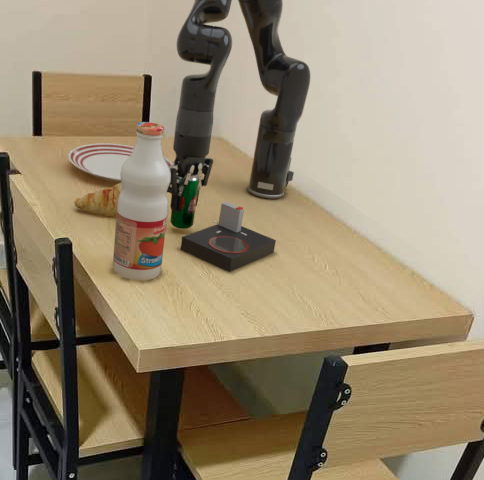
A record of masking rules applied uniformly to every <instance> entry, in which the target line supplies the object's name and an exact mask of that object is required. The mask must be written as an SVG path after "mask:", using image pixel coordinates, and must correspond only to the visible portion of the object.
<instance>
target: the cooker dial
mask: <svg viewBox="0 0 484 480" xmlns="http://www.w3.org/2000/svg"><path fill="white" fill-rule="evenodd" d="M244 213H245V208H244V207H243V206H238V205H235V204H233V203H230V202H228V201H223V202H221V205H220V212H219V217H218V218H219V219H218V223H217V224H218V225H220V226H222V227H224V228H227V229H229V230H232V231H234V232H239V231H241V226H243V221H244Z"/></svg>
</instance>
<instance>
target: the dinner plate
mask: <svg viewBox="0 0 484 480" xmlns="http://www.w3.org/2000/svg"><path fill="white" fill-rule="evenodd" d="M134 147H135V146H132V145H128V144H127V145H126V144H119V143H109V142H108V143H107V142H106V143H105V142H104V143H102V142H101V143H100V142H99V143H88V144H84V145H79V146H77V147H75V148H73V149H72V150H70V151H69V152H68V154H67V158H68V160H69V161H70V164H72V165H73V166H74V167H76V168H77V169H79V170H80V171H82V172H84V173H86V174H88V175H90V176H92V177H95V178H97V179H99V180H103V181H106V182H111V183H115V184H118V183H121V176H120V174H121V168H122V166H123V164H124V162H125V161H126V160H127V159H128V158H129V157H130V156H131V154H132V152H133V150H134ZM164 159H165V161H166V163H167V165H168V166H171V165H173V164H174V163H173V162H172V161H171V160H170V159H168V158H167V157H165V156H164Z"/></svg>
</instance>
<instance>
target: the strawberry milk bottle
mask: <svg viewBox="0 0 484 480" xmlns="http://www.w3.org/2000/svg"><path fill="white" fill-rule="evenodd" d="M135 134H136V142H135V145H134V146H133V147H134V150H133V152H132V154H131V156H130V157H129V158H128V159H127V160H126V161H125V162H124V164H123V166H122V168H121V174H120V176H121V183H122V190H121V192H120V194H119V197H118V204H117V216H116V217H115V229H114V230H115V232H114V233H115V234H114V244H113V257H112V268H113V272H114V273H116V275H117V276H119V277H121V278H123V279H127V280H131V281H137V282H139V281H141V282H142V281H144V282H145V281H150V280H153V279H155V278H157V277H158V276H159V275H160V273H161V270H162V266H163V265H162V264H163V258H164V257H163V256H164V249H165V239H166V231H167V223H168V222H167V221H168V213H169V198H168V195H167V193H168V192H167V189H168V187H169V184H170V181H171V172H170V168H169V166H168V165H167V163H166V161H165V159H164V157H165V156H164V151H163V145H162V139H163V138H164V135H165V127H164V125H162V124H160V123H156V122H149V121H140V122H138V123H136V127H135ZM170 185H171V184H170Z"/></svg>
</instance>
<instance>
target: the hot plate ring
mask: <svg viewBox="0 0 484 480" xmlns="http://www.w3.org/2000/svg"><path fill="white" fill-rule="evenodd" d="M209 245H210V246H211V247H212V248H214V249H216V250H218V251H221V252H225V253H232V254H238V253H244V252H246V251H248V249H249V245H248V244H247V243H246V242H244V241H243V240H240V239H238V238H234V237H229V236H217V237H213V238H211V239H210V240H209Z"/></svg>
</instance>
